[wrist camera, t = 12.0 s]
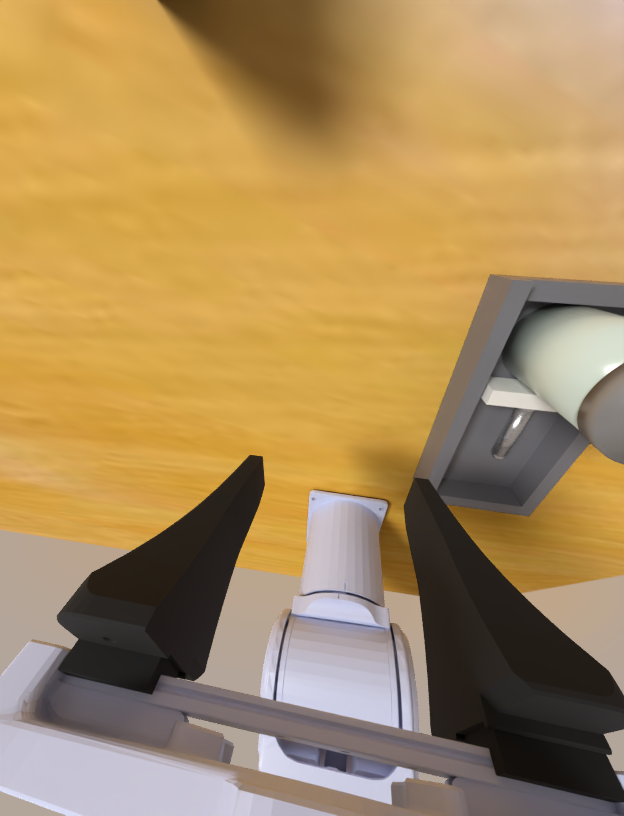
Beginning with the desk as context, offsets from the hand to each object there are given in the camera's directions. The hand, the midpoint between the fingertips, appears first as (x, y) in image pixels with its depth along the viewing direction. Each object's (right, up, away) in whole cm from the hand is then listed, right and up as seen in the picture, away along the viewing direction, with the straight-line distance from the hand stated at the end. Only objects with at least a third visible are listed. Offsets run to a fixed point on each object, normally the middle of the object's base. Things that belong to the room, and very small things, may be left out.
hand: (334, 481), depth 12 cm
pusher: (+13, +3, +6) cm, 15 cm away
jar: (+13, +8, +3) cm, 16 cm away
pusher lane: (+13, +4, +7) cm, 15 cm away
